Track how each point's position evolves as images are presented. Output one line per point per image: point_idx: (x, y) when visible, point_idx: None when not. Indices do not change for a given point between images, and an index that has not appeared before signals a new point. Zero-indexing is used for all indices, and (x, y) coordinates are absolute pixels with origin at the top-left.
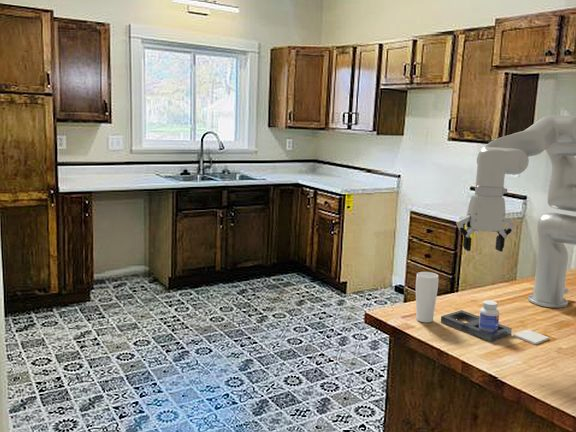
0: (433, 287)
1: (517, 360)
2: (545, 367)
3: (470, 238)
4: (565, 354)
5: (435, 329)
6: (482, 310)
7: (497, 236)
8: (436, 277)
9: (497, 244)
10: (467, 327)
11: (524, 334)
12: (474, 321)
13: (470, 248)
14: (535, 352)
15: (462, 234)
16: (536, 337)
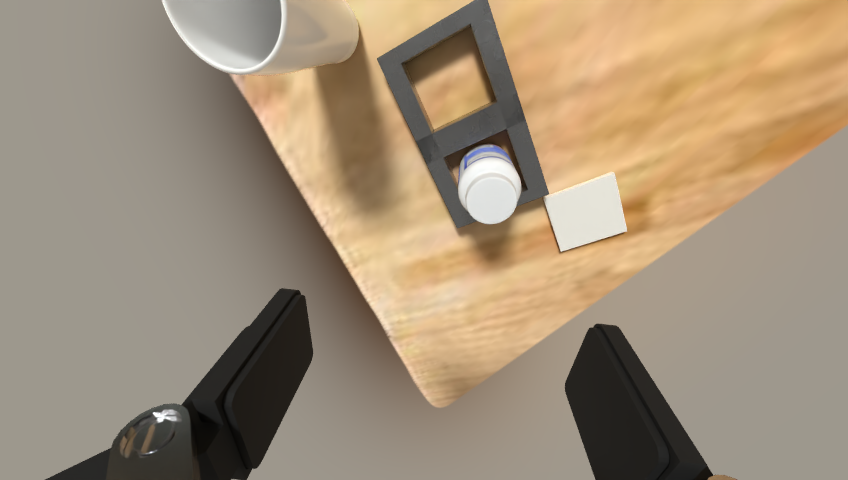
0: (281, 74)
1: (461, 299)
2: (496, 328)
3: (243, 469)
4: (585, 297)
5: (346, 118)
6: (461, 192)
7: (670, 463)
8: (268, 64)
9: (600, 391)
10: (425, 160)
11: (574, 204)
12: (468, 125)
13: (303, 373)
14: (526, 279)
15: (140, 417)
16: (591, 226)
